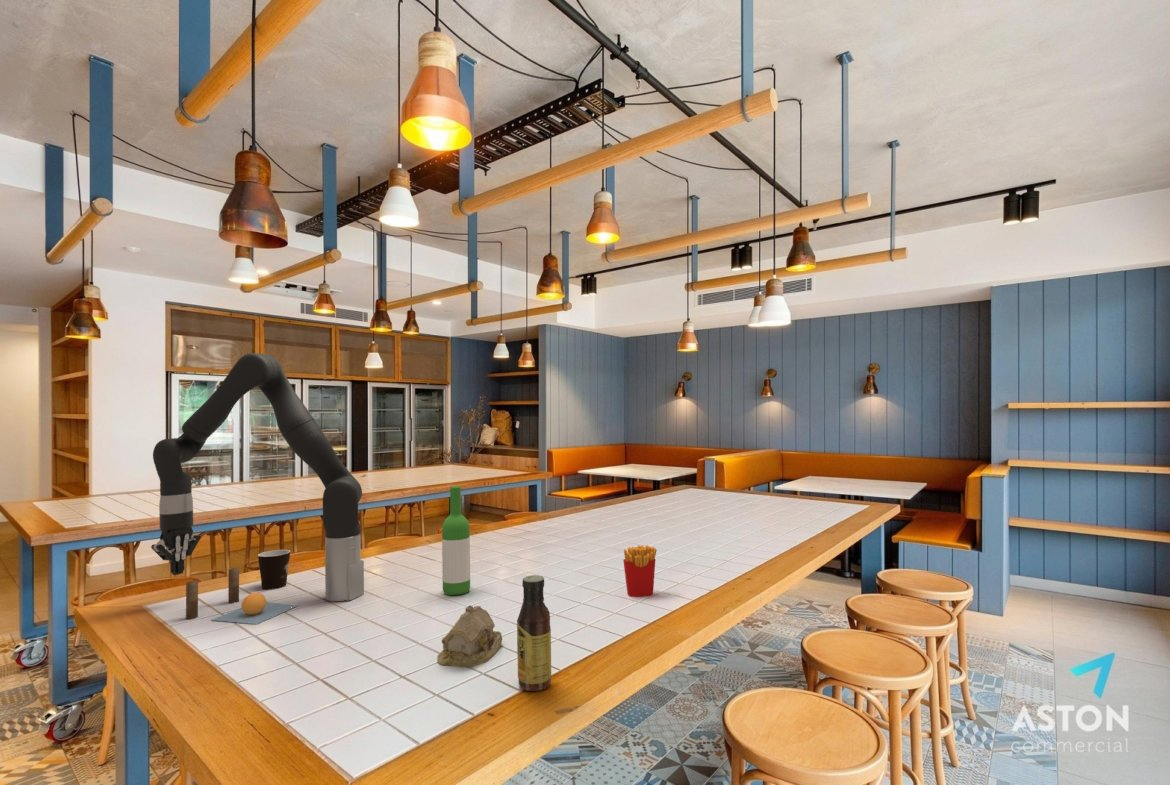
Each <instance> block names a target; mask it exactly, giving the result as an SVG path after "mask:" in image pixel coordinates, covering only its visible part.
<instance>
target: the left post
mask: <svg viewBox="0 0 1170 785" xmlns="http://www.w3.org/2000/svg"><path fill="white" fill-rule="evenodd" d="M185 587H186V588H185V590H186V591H185V619H186V620H193V619H192V618H194V619H197V618H199V615H198V614H199V580H190V581H187V582H186V584H185ZM196 617H197V618H196Z"/></svg>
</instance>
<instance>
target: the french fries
mask: <svg viewBox="0 0 1170 785" xmlns="http://www.w3.org/2000/svg"><path fill="white" fill-rule="evenodd" d="M656 554H657V548H656V547H655V546H650V545H645V546H644V545H642V544H641V545H637V546H632V547H631V546H629V547H627V549H626V548H624V549H623V556H624V559H622V561H623V568H624V576H625V577H624V578H625V585H626V586H625V587H626V594H627V596H629V597H631V598H638V597H639V598H641V597H651V596H652V595H654V586H655V584H654V583H655V570H656Z"/></svg>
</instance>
